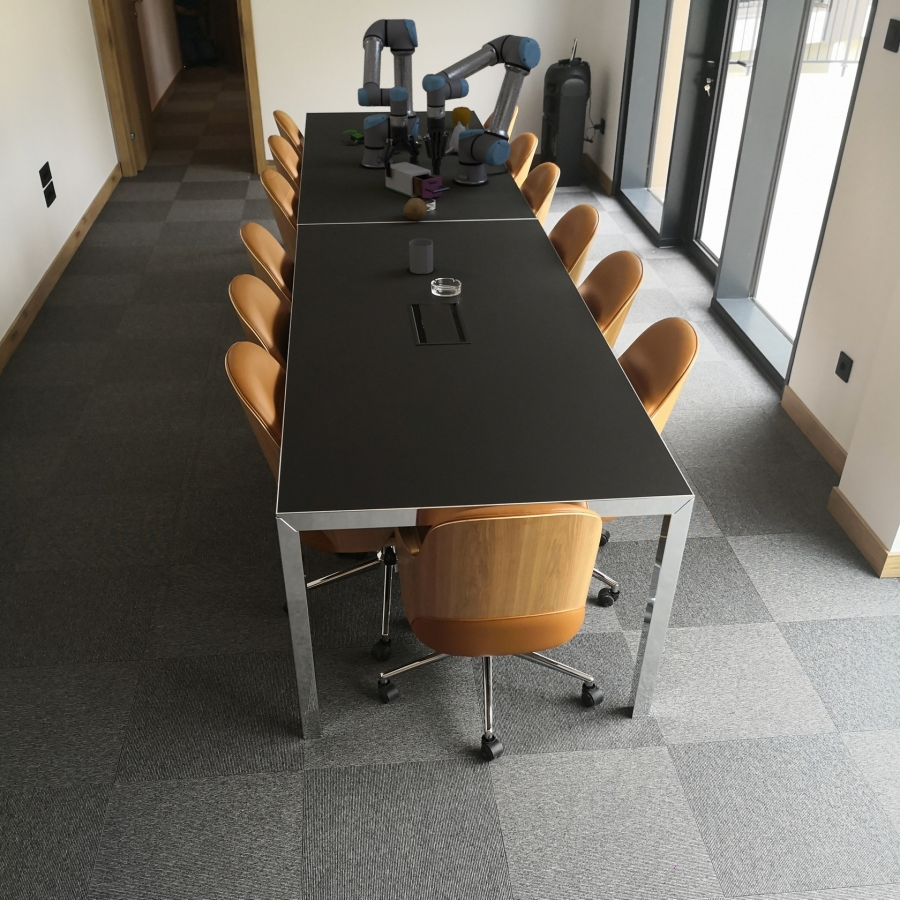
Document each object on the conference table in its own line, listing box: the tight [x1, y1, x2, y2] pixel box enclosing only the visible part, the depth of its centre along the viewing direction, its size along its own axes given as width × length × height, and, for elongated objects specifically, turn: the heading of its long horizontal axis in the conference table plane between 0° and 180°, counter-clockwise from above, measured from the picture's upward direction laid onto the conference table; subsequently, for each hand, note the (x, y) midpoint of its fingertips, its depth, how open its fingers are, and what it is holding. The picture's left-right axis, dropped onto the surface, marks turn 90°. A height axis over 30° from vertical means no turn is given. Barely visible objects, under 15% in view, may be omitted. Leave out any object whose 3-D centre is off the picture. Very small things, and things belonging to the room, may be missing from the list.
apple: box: [451, 105, 472, 129], centre depth 487 cm, size 11×11×13 cm
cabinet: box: [384, 161, 432, 198], centre depth 389 cm, size 19×11×10 cm, turn 39°
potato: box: [403, 197, 428, 221], centre depth 354 cm, size 10×14×8 cm
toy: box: [445, 121, 470, 155], centre depth 440 cm, size 9×24×15 cm, turn 137°
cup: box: [408, 237, 434, 275], centre depth 305 cm, size 8×8×10 cm
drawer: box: [412, 174, 450, 199], centre depth 381 cm, size 23×10×8 cm, turn 39°
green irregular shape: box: [340, 129, 365, 146], centre depth 465 cm, size 6×13×30 cm
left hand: (400, 174), depth 392 cm, fingers open, 13 cm apart
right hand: (436, 174), depth 372 cm, fingers closed
